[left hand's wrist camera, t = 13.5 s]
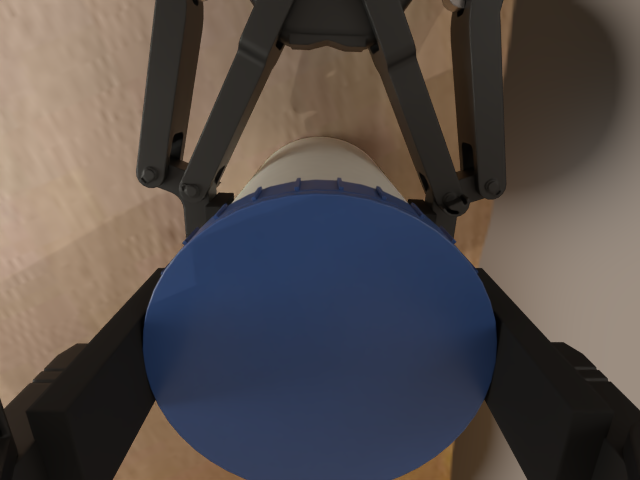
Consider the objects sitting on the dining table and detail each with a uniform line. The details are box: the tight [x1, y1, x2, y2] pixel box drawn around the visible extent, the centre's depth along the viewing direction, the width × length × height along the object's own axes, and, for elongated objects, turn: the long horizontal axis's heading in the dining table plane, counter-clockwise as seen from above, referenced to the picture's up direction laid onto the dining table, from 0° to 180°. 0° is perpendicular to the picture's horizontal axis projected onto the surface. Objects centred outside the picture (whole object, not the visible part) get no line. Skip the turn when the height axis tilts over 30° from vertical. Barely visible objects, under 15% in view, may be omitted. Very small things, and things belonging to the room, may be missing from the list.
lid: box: [143, 178, 497, 480], centre depth 12 cm, size 10×10×2 cm
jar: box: [232, 137, 407, 203], centre depth 18 cm, size 9×9×15 cm
